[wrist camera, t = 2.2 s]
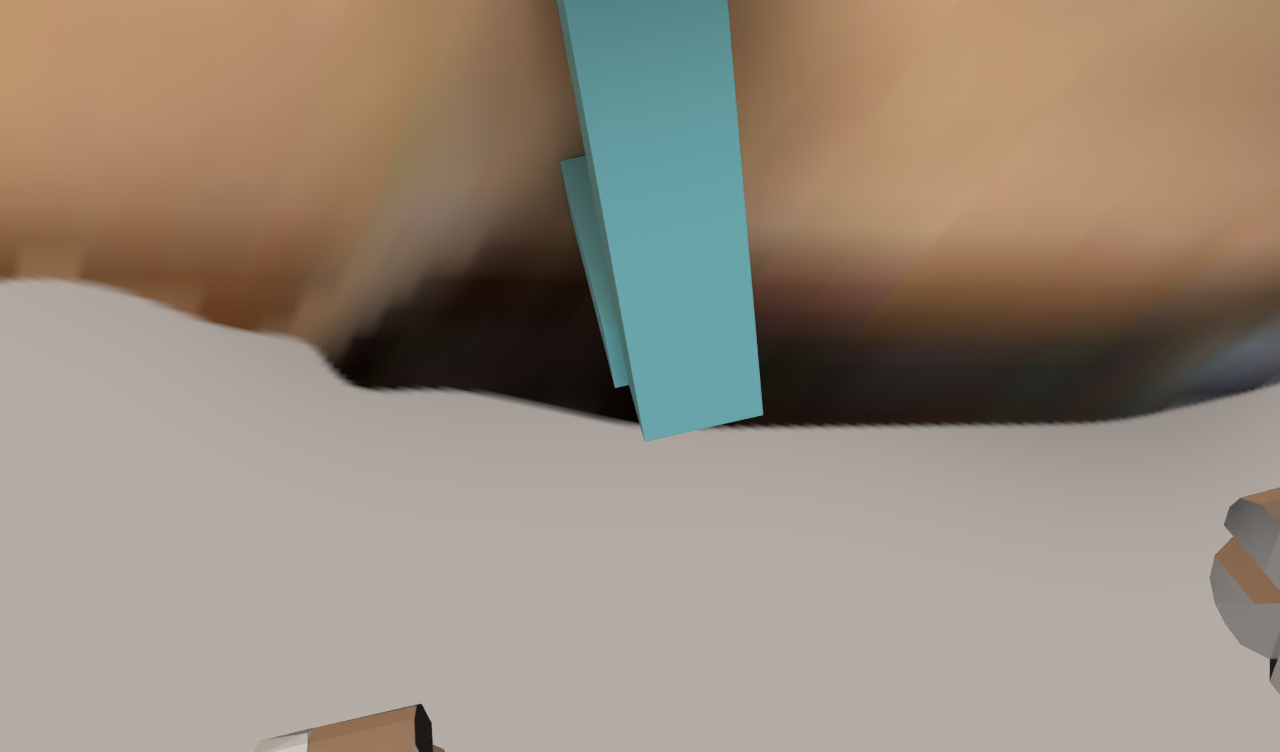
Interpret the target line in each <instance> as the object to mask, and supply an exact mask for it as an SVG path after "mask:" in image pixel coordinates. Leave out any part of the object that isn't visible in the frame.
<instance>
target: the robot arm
mask: <svg viewBox="0 0 1280 752" xmlns="http://www.w3.org/2000/svg"><path fill="white" fill-rule="evenodd" d="M1224 525H1225V527H1226V528H1227V529H1228V530H1229V532H1230V533H1231V534H1232V535H1233V537H1232V538H1231V539H1230V541H1229V542H1228V543H1227V544H1226V545H1225V546H1224V547H1223V548H1222V549H1221V550H1220V551H1219V552H1218V553H1217V554H1216V555H1215V557H1214V562H1213V566H1212V570H1211V575H1210V581H1211V586H1212V591H1213V596H1214V600H1215V604H1216V606H1217V608H1218V610H1219V612H1220V614H1221V616H1222V618H1223V620H1224V622H1225V624H1226V625H1227V626H1228V628H1229V629H1230V631H1231V632H1232V633H1233V635H1234V636H1235V637H1236V639H1237V640H1238V641H1239V643H1240V644H1241V645H1243V646H1245V647H1247V648H1250V649H1251V650H1253V651H1255V652H1257V653H1259V654H1261V655H1263V656H1265V657H1267V658H1269V659H1270V682H1271V684H1272V685H1273V686H1274V687H1275V689H1276V690H1277V691H1278V692H1279V694H1280V488H1276V489H1272V490H1269V491H1265V492H1261V493H1257V494H1254V495H1250V496H1246V497H1242V498H1240V499H1239V500H1237V501H1236V502H1235V503H1234V504H1233V505H1232V506H1230V508H1229V511H1228V514H1227V517H1226V520H1225V523H1224ZM255 752H445V751H444V749H442V748H439V747H437V746H435V745H433V739H432V723H431V721H430V719H429V717H428V715H427V713H426V711H425V709H424V707H423V706H422V704H417V705H413V706H409V707H404V708H400V709H395V710H391V711H387V712H382V713H378V714H373V715H369V716H365V717H361V718H356V719H352V720H347V721H343V722H339V723H334V724H330V725H326V726H321V727H317V728H311V729H307V730H303V731H299V732H295V733H290V734H287V735H283V736H278V737H275V738H270V739H266V740H262V741H259V744H258V746H257V749H256V751H255Z"/></svg>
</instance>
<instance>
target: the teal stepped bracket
mask: <svg viewBox="0 0 1280 752" xmlns="http://www.w3.org/2000/svg"><path fill="white" fill-rule="evenodd" d="M556 1H557V6H558V12H559V17H560V22H561V28H562V33H563V38H564V44H565V49H566V54H567V60H568V65H569V70H570V76H571V81H572V86H573V92H574V97H575V102H576V108H577V113H578V118H579V124H580V129H581V134H582V139H583V145H584V150H585V156H581V157H576V158H571V159H566V160H562V161H560V165H561V170H562V175H563V180H564V185H565V190H566V194H567V199H568V204H569V209H570V214H571V218H572V222H573V226H574V230H575V234H576V238H577V241H578V245H579V249H580V253H581V257H582V261H583V265H584V269H585V273H586V277H587V280H588V284H589V288H590V292H591V296H592V300H593V304H594V308H595V312H596V315H597V319H598V323H599V327H600V331H601V335H602V339H603V343H604V347H605V351H606V354H607V358H608V362H609V366H610V370H611V374H612V378H613V382H614V386H615V388H617V387H621V386H626V385H629V386H630V390H631V394H632V397H633V401H634V405H635V408H636V412H637V415H638V419H639V423H640V426H641V430H642V434H643V437H644V441H649V440H653V439H658V438H662V437H667V436H671V435H676V434H680V433H685V432H689V431H694V430H698V429H702V428H707V427H711V426H716V425H720V424H725V423H729V422H733V421H738V420H742V419H747V418H751V417H756V416H760V415H763V409H762V398H761V386H760V374H759V363H758V351H757V339H756V327H755V316H754V304H753V292H752V281H751V269H750V257H749V246H748V234H747V222H746V210H745V199H744V187H743V175H742V164H741V152H740V140H739V128H738V117H737V105H736V93H735V82H734V70H733V58H732V46H731V35H730V23H729V11H728V0H556Z"/></svg>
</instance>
